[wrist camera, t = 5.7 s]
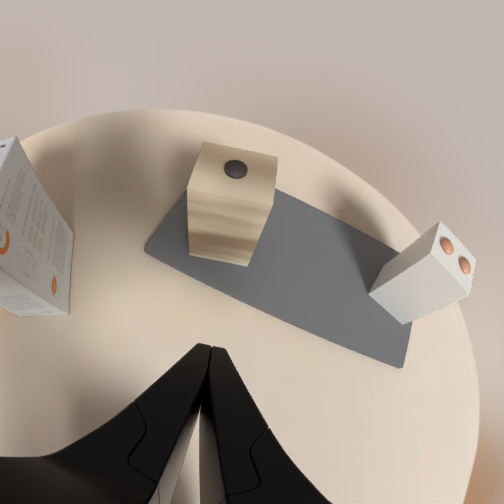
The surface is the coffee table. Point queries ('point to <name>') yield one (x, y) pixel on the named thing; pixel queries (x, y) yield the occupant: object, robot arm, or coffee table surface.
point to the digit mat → (300, 275)
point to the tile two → (425, 276)
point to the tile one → (229, 202)
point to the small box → (31, 240)
